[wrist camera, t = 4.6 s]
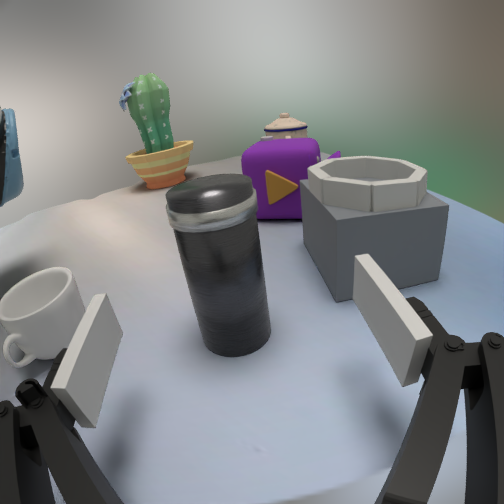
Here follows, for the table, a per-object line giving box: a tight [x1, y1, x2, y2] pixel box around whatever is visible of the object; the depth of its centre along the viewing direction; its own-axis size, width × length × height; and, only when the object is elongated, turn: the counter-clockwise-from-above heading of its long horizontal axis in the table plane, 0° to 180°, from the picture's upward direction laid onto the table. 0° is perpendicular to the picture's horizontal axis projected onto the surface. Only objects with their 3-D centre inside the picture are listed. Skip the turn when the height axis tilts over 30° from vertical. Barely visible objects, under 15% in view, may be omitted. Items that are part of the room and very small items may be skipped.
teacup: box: [0, 267, 85, 368], centre depth 22 cm, size 10×8×5 cm
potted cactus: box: [119, 73, 193, 189], centre depth 63 cm, size 16×15×25 cm
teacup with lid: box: [264, 113, 307, 139], centre depth 64 cm, size 12×9×12 cm
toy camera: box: [241, 136, 341, 219], centre depth 42 cm, size 11×14×10 cm
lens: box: [166, 174, 271, 357], centre depth 21 cm, size 5×5×11 cm
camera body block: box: [300, 156, 449, 302], centre depth 28 cm, size 10×11×9 cm
